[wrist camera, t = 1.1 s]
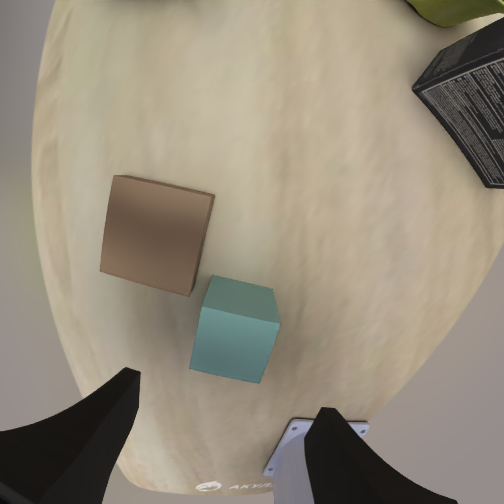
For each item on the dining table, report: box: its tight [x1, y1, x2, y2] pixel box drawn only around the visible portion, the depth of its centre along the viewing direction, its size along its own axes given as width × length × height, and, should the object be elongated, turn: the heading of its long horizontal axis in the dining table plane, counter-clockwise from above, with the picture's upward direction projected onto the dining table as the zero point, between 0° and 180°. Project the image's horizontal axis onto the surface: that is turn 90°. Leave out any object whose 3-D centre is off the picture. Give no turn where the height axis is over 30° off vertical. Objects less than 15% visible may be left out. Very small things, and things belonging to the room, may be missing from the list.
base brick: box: [100, 175, 215, 297], centre depth 17 cm, size 6×6×2 cm
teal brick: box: [189, 275, 280, 384], centre depth 17 cm, size 4×4×5 cm
